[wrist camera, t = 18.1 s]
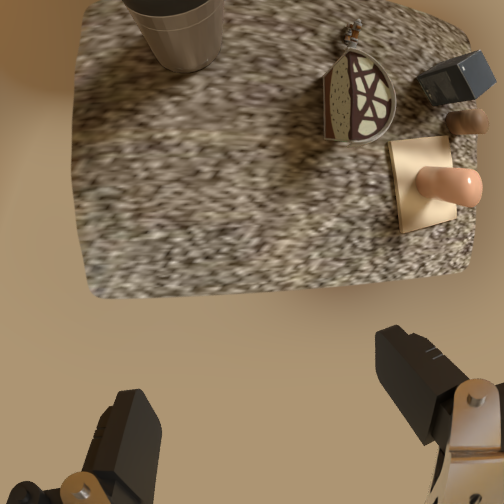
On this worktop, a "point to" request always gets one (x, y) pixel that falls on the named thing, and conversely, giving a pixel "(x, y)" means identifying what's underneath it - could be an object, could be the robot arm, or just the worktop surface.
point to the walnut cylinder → (467, 122)
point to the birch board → (405, 172)
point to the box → (457, 79)
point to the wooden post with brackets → (353, 33)
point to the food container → (357, 99)
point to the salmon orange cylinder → (450, 185)
